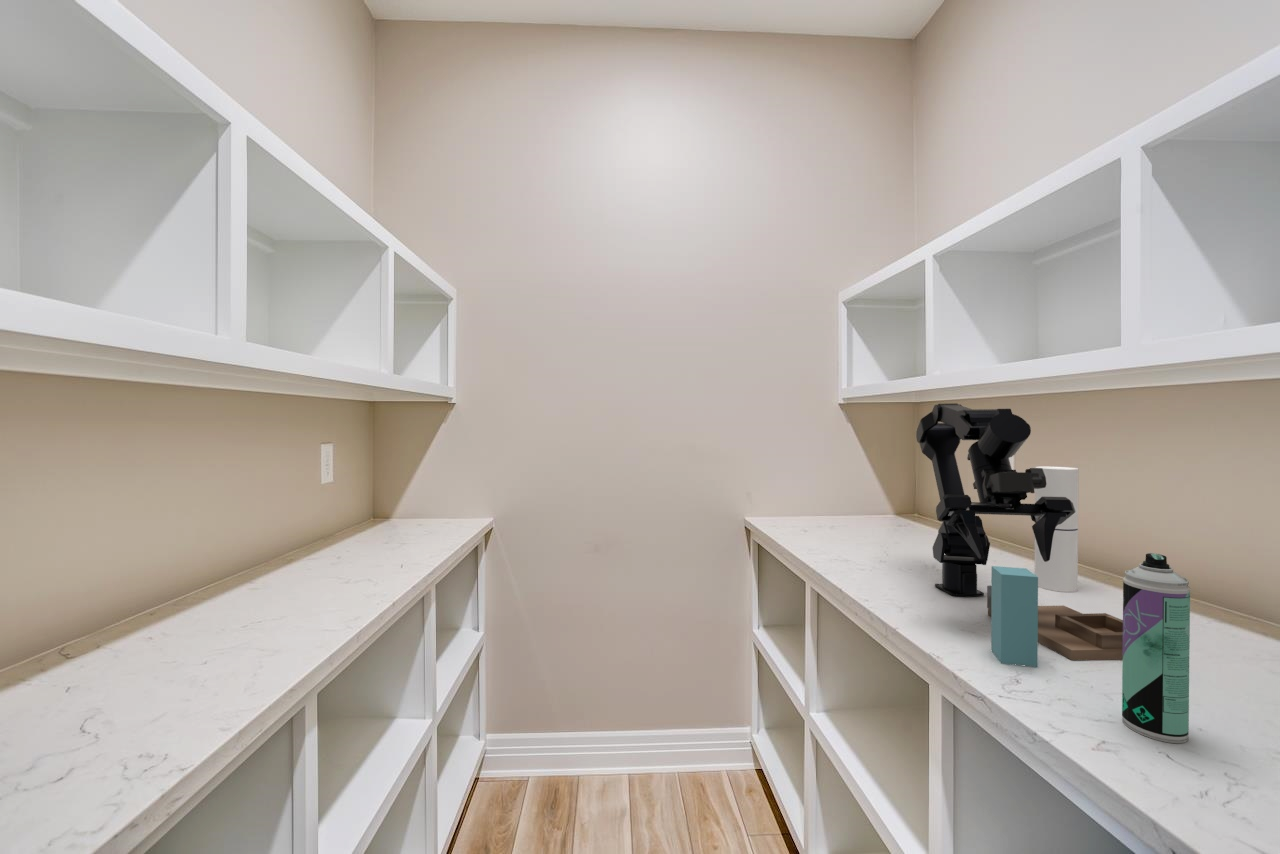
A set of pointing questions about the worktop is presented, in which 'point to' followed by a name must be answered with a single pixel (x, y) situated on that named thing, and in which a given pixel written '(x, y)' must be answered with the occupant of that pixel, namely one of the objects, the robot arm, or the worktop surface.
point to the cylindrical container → (1060, 534)
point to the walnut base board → (1078, 632)
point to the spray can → (1156, 651)
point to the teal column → (1014, 616)
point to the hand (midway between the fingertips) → (1013, 559)
